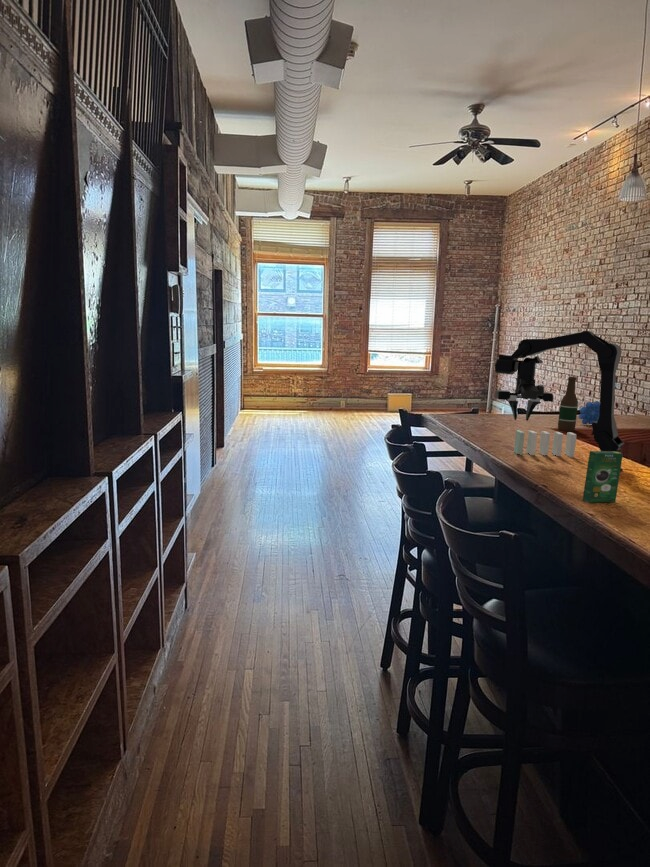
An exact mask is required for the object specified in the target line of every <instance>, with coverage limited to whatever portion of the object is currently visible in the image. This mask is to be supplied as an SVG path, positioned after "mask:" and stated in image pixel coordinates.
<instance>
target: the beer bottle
mask: <svg viewBox="0 0 650 867" xmlns="http://www.w3.org/2000/svg"><path fill="white" fill-rule="evenodd" d="M567 380H568V382H567V385H566V392H565V394H564V395H563V397H562V399H561V401H560V406H559V414H558V422H557V430H559V431H565V432H574V431H575V430H576V425H577V423H576V422H577V415H578V409H579V408H578V406H579V401H578V397H577V395H576V381H577V377H576V376H568V378H567Z"/></svg>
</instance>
